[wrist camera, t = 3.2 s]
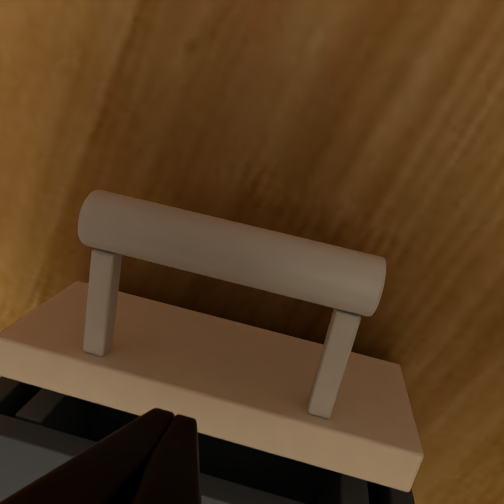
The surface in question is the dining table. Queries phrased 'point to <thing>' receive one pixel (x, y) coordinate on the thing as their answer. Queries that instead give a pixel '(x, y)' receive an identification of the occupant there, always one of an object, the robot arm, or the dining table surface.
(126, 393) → the drawer
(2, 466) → the dark grey rectangular box
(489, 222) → the dining table surface
